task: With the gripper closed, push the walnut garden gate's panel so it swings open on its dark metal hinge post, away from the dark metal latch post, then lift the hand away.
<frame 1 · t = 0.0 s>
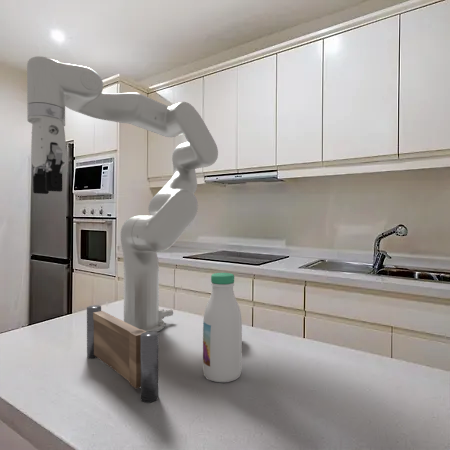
hand: (47, 192, 74), 37 cm above the countertop, tool pointing down, fingers open, 9 cm apart
milk bottle: (222, 374, 65), on the countertop
walnut gate: (117, 345, 65), point 6 cm above the countertop, hinge at 0.0°
latch post: (149, 397, 56), on the countertop
hinge post: (94, 355, 73), on the countertop
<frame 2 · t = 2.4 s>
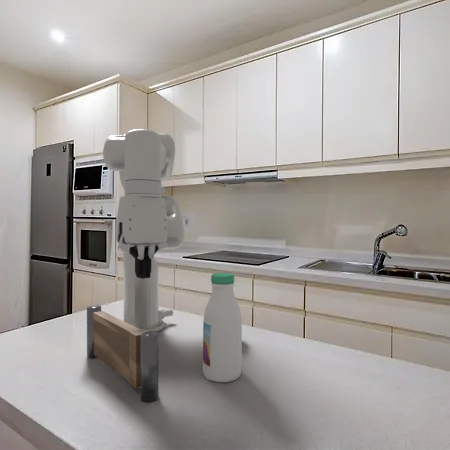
hand: (143, 277, 69), 18 cm above the countertop, tool pointing down, fingers closed
nothing on the countertop moved.
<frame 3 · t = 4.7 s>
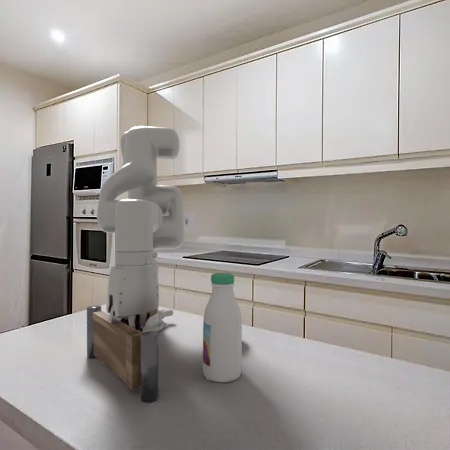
hand: (134, 346, 67), 4 cm above the countertop, tool pointing down, fingers closed
walnut gate: (115, 345, 64), point 6 cm above the countertop, hinge at 2.1°, touching gripper
everything else where it was.
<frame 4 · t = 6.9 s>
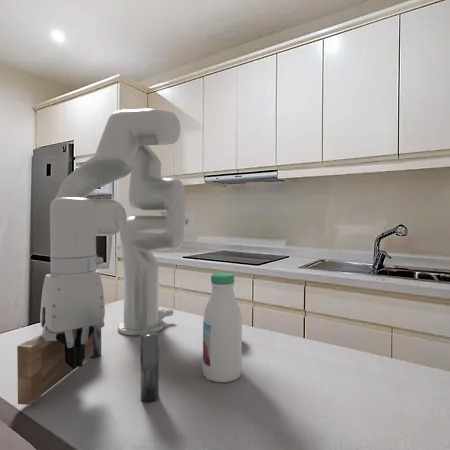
hand: (74, 365, 59), 4 cm above the countertop, tool pointing down, fingers closed
walnut gate: (62, 351, 61), point 6 cm above the countertop, hinge at 51.8°, touching gripper
everything else where it was.
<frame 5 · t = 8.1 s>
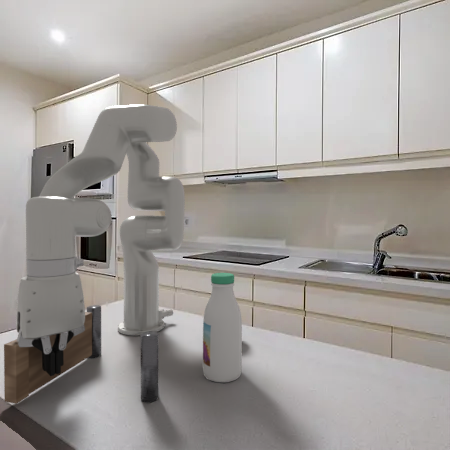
hand: (53, 372, 57), 4 cm above the countertop, tool pointing down, fingers closed
walnut gate: (55, 350, 62), point 6 cm above the countertop, hinge at 59.1°, touching gripper
everything else where it was.
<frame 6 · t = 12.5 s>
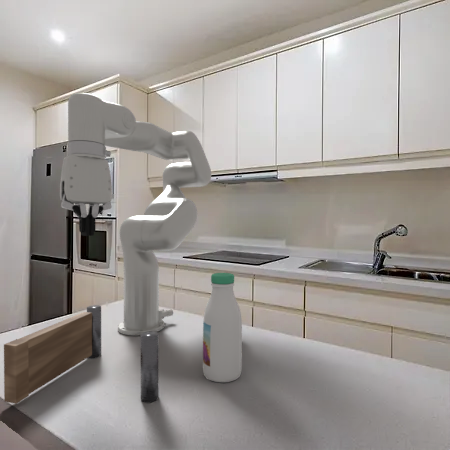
hand: (87, 235, 72), 27 cm above the countertop, tool pointing down, fingers closed
walnut gate: (55, 350, 62), point 6 cm above the countertop, hinge at 59.1°
everything else where it was.
at the end: walnut gate at +59° (first picture: +0°) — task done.
